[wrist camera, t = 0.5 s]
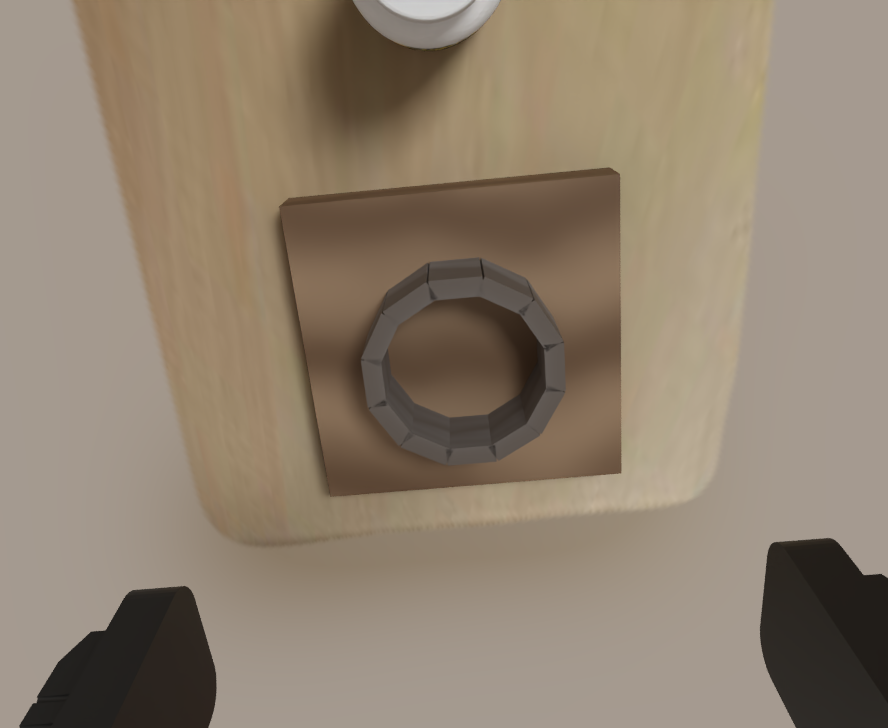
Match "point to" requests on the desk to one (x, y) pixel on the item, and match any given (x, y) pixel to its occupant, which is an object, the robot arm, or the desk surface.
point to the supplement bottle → (426, 20)
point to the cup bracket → (462, 329)
